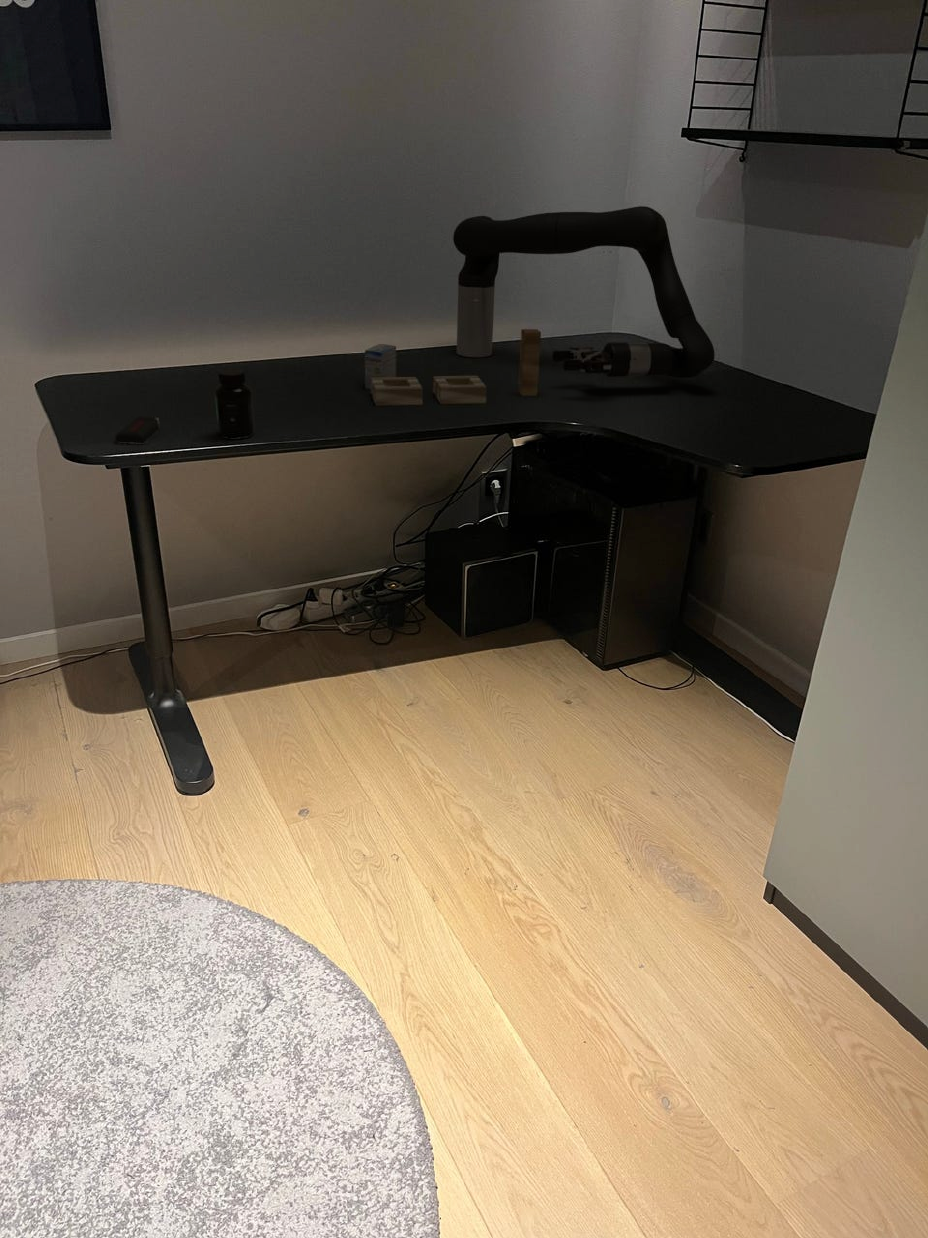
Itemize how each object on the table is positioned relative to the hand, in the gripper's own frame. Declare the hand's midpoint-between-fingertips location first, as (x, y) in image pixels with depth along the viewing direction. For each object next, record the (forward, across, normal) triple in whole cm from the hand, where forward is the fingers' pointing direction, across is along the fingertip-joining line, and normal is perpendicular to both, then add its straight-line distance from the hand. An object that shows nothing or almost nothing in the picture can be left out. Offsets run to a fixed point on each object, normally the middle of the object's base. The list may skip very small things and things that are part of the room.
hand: (557, 360), depth 218 cm
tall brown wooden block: (+7, 0, +7) cm, 10 cm away
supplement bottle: (+71, +24, +8) cm, 75 cm away
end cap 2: (+23, +2, +8) cm, 24 cm away
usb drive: (+88, +22, +8) cm, 92 cm away
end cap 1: (+37, +2, +8) cm, 37 cm away
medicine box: (+39, -10, +8) cm, 41 cm away
